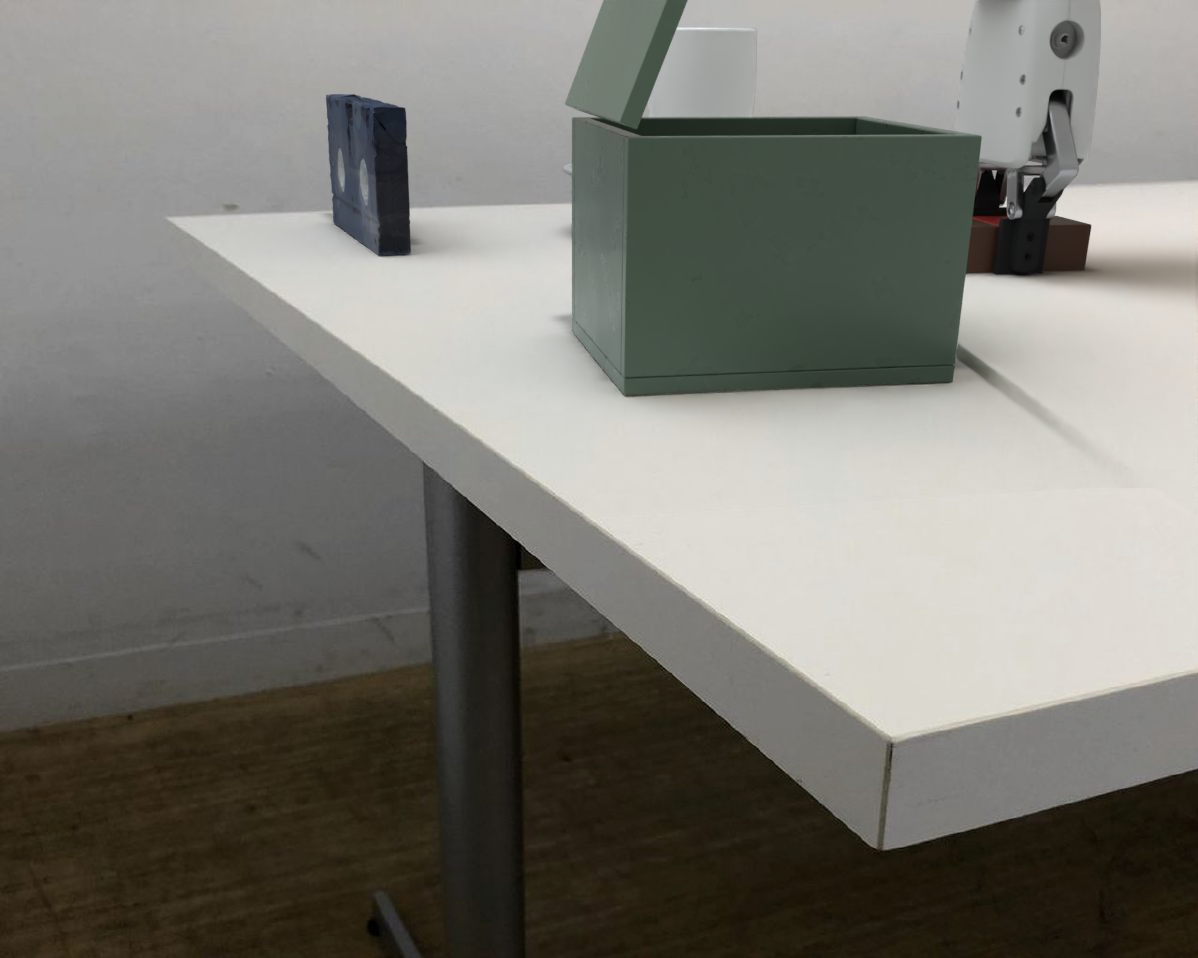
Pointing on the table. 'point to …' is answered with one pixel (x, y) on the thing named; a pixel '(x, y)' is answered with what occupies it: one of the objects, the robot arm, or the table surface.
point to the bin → (769, 251)
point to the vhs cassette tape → (369, 171)
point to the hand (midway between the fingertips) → (997, 272)
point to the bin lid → (624, 58)
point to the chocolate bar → (1061, 250)
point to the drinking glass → (707, 74)
